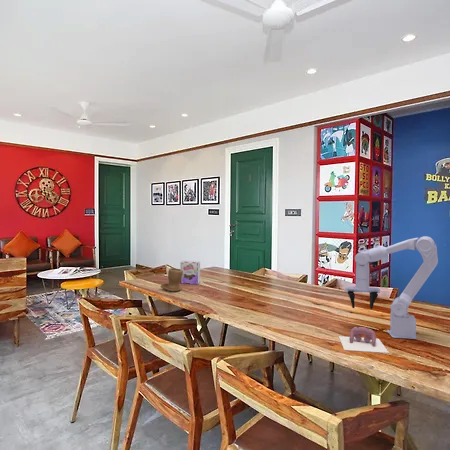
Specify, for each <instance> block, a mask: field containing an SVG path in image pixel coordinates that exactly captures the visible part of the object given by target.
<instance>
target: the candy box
mask: <svg viewBox="0 0 450 450" xmlns="http://www.w3.org/2000/svg"><path fill="white" fill-rule="evenodd" d="M180 269H181V270H182V271H183V275H182V278H181V281H180V284H183V283H190V284H189V285H199V284H201V261H198V260H197V261H194V260H182V261H180Z"/></svg>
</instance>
